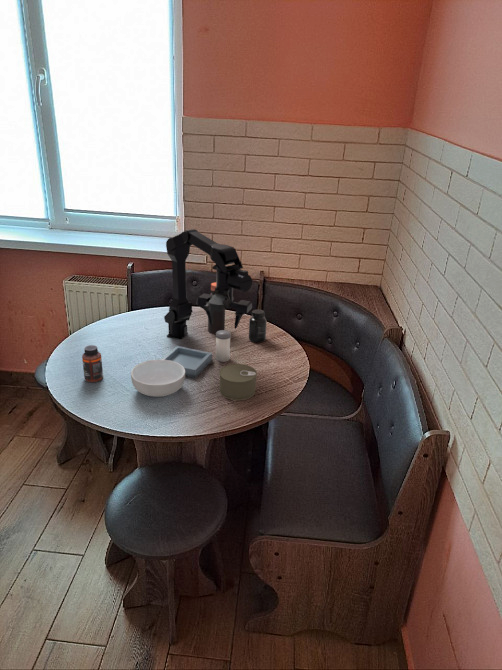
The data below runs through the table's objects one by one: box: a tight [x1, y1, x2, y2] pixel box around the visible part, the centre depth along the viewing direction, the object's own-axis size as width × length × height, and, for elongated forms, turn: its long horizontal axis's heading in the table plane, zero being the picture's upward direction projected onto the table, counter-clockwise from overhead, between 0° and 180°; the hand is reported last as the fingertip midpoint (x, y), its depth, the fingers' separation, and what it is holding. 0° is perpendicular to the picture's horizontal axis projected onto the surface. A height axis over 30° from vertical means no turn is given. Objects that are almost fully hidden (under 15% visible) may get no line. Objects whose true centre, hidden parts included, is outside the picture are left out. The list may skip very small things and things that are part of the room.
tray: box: [161, 345, 213, 379], centre depth 174 cm, size 14×14×3 cm
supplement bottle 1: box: [81, 344, 104, 383], centre depth 161 cm, size 6×6×11 cm
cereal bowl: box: [130, 358, 186, 398], centre depth 157 cm, size 17×17×7 cm
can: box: [218, 363, 258, 401], centre depth 159 cm, size 12×12×7 cm
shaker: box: [215, 330, 232, 363], centre depth 179 cm, size 5×5×10 cm
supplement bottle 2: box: [248, 309, 268, 344], centre depth 195 cm, size 7×7×12 cm
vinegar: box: [207, 281, 226, 335], centre depth 199 cm, size 7×7×20 cm
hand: (223, 326), depth 175 cm, fingers open, 9 cm apart
